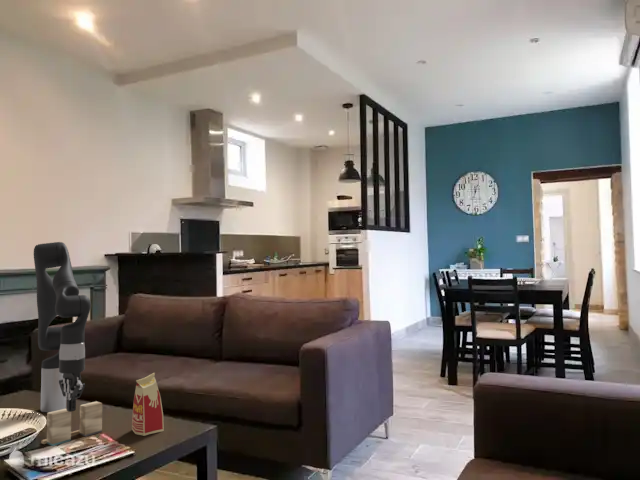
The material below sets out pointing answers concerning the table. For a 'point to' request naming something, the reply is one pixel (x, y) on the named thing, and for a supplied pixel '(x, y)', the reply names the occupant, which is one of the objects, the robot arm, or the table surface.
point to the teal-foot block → (58, 427)
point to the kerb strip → (71, 435)
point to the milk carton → (147, 407)
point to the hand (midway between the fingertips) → (71, 410)
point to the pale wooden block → (90, 418)
